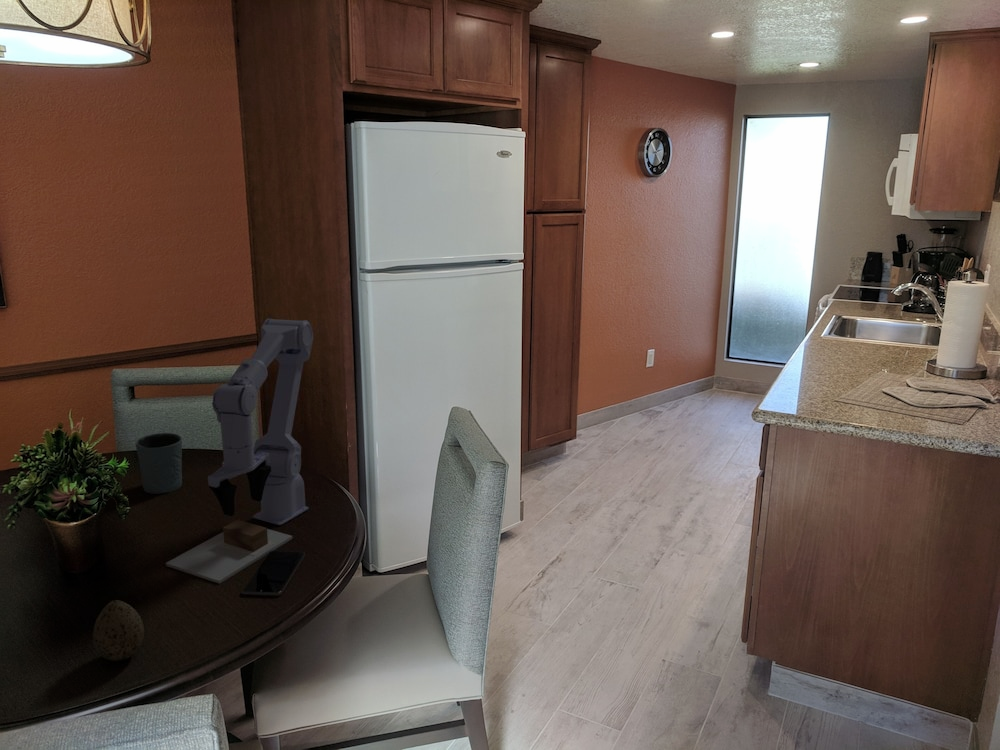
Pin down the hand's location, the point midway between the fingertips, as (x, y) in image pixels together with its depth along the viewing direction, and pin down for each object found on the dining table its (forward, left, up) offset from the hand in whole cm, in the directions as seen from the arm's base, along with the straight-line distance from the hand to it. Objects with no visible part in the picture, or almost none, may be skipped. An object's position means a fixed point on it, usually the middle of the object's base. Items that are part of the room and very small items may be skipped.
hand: (243, 507), depth 152 cm
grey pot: (-13, -39, -9) cm, 42 cm away
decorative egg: (+36, +9, -9) cm, 38 cm away
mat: (+3, -1, -9) cm, 9 cm away
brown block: (0, 0, -8) cm, 8 cm away
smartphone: (+5, +13, -9) cm, 16 cm away
